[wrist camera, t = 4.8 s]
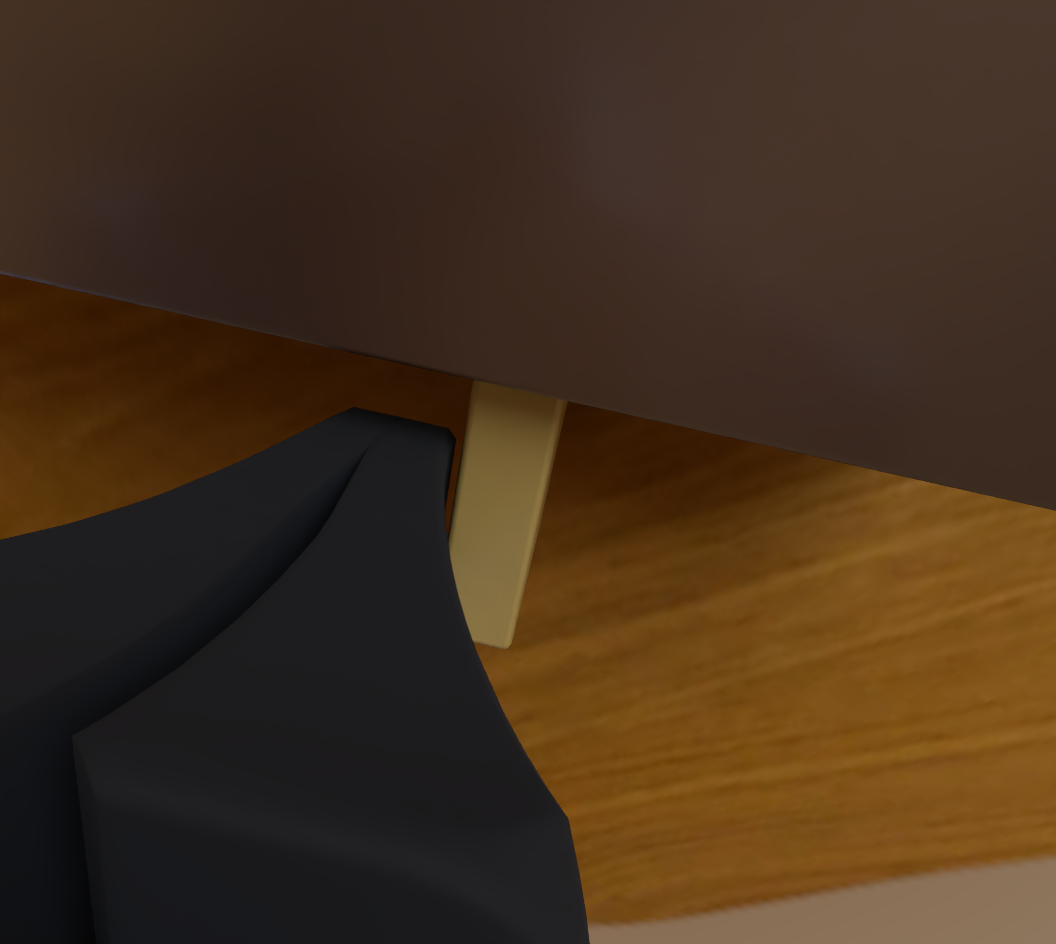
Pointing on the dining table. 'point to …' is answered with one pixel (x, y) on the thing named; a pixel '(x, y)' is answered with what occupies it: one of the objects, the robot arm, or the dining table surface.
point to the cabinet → (581, 202)
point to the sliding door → (500, 503)
